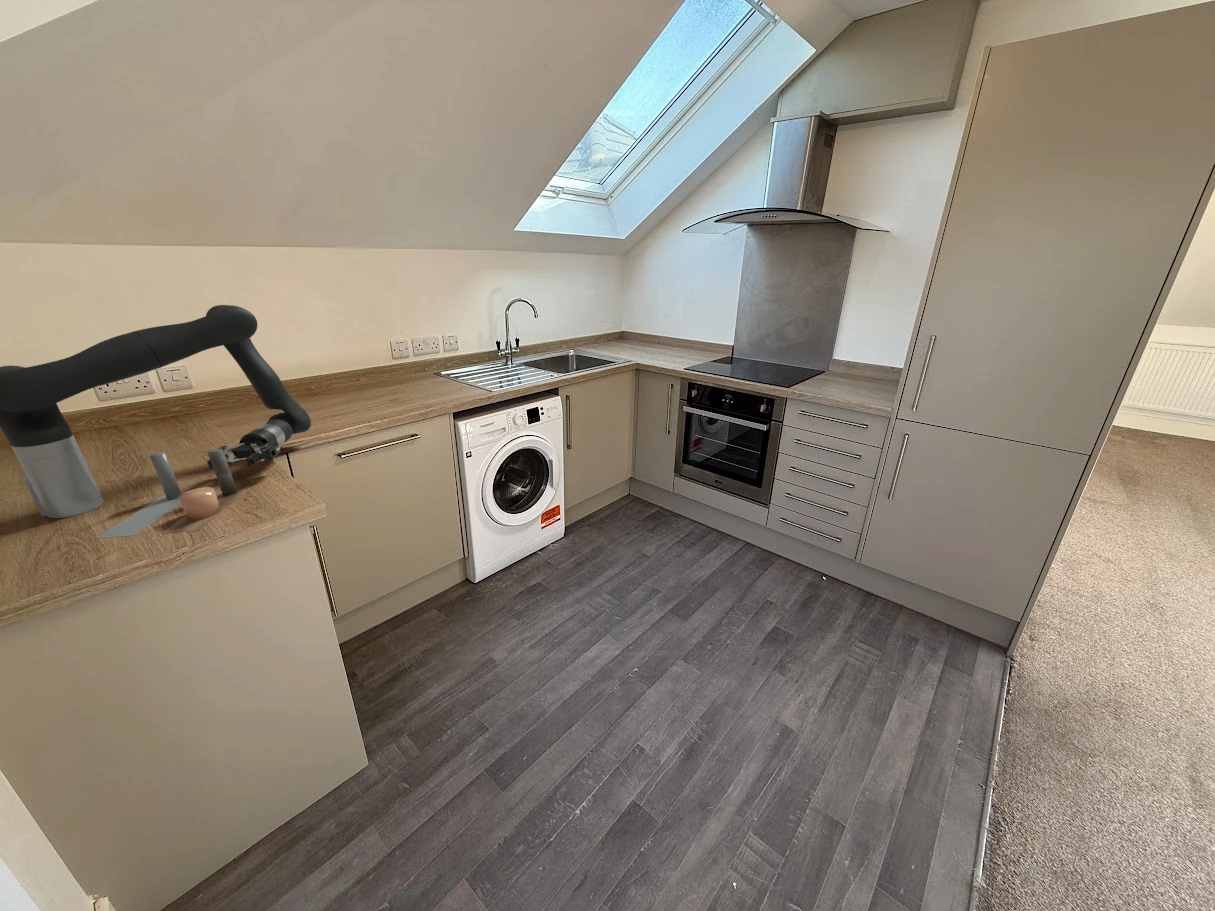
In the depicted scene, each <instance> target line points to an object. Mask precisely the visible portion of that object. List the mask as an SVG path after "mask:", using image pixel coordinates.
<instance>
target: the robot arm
mask: <svg viewBox="0 0 1215 911" xmlns="http://www.w3.org/2000/svg"><path fill="white" fill-rule="evenodd" d="M257 329H258V321H257V318H256V317H255V315H254V314H253V313H252V312H251V311H249V310H248V309H246V308H243V307H240V306H238V305H229V304H218V305H214V306H212V307H210V308H209V309H208V310H207V311H206V314H205V316H203V317H200V318H196V319H193V320H190V321H186V322H182V323H173V324H166V325H159V326H153V327H152V326H151V327H148V328H143V329H138V330H134V331H130V332H127V333H123V334H120V335H116V336H114V337H110V338H107V339H105V340H103V341H100V342H98V343H96V344H94V345H92V346H89V347H88V348H86V349H84V350H82V351H79V352H77V353H75V354H73V355H71V356H68V357H65V358H62V359H61V358H60V359H59V360H58V359H57V360H55V361H50V362H46V363H42V364H36V365H31V366H27V367H26V366H25V367H24V366H21V365H20V366H19V365H2V366H0V429H1V431H2V432H3V435H5V437H6V439H7V440H8V442H9V444H10V446H11V449H12V451H13V452H14V454H15V456H16V458H17V460H18V461H19V463H20V465H21V467H22V469H23V472H24V474H25V475H26V476H25V477H23V479H22V481H23V482H24V484H25V486H26V489H27V490H28V492H29V494H30V496H31V498H32V500H33V501H34V503H35V506H36V508H37V510H38V512H39V513H40V515H41V517H47V518H50V519H61V518H70V517H74V516H79V515H82V514H85V513H88V512H91V511H94V510H95V509H97V508H99V507H100V506H103V504H104V499H103V497H102V495H101V493H100V489H98V488H99V487H98V486H97V483H96V482H95V478H94V477H93V474H92V472H91V470H90V468H89V465H88V464H87V461H86V459H85V457H84V455H83V452H82V451H81V448H80V446H79V444H78V441H77V440H76V438H75V436H74V433H73V431H72V429H71V426H70V425H69V423H68V422H67V420H66V418H65V417H64V415H63V414H62V412H61V409H60V408H59V406H58V403H60V402H62V401H64V400H68V398H71V397H73V396H76V395H79V394H81V393H83V392H85V391H88V390H91V389H94V388H97V387H101V386H104V385H108V384H111V383H116V382H119V381H123V380H126V379H129V378H132V377H137V376H139V375H143V374H145V373H148V372H149V373H150V372H152V371H155V370H157V369H160V368H163V367H166V366H169V365H170V364H175V363H177V362H179V361H181V360H184V359H187V358H190V357H191V356H194V355H196V354H198V353H201V352H204V351H206V350H210V349H214V348H217V347H220V346H223V347H224V348H225V349H226V350H227V351H228V353H229V354H230V356H231V357H232V358H233V359H234V361H235V362H236V363H237V365H238V366H239V368H240V369H241V370H242V372H243V373H244V375H245V376H246V378H247V380H248V381H249V383H250V384H251V386H252V388H253V390H254V391H255V393H256V394H257V397H259V400H261V402H262V404H263V405H264V407H266V409H269V410H279V411H280V410H281V411H283V412H280V413H276V414H274V415H271V416H270V417H269V418H268V420H267V422H266V423H264V424H262V425H261V426H260V425H259V426H257V427H256V428H254V429H253V430H251V431H249V432H248V433H246V434H244V435H243V436H242V437H241V438H240V440H239V443H237V444H236V445H235V446H232V447H228V446H227V445H222V446H220V447H218V448H217V449H223V451H224V454H225V457H226V460H227V463H228V462H229V463H234V462H237V461H241V460H246V463H247V467H253V466H255V465H256V464H258V463H259V462H263V461H265V459H267V461H272V460H274V458H276V457H277V456H278V455H279V454H280V453H281V447H282V445H284V444H285V443H286V442H287V441H289V440H290V438H291V437H292V436H293V435H296V434H301V433H305V432H307V431H309V430H310V428H311V426H312V419H311V417H310V416H309V414H308V412H307V411H306V410H305V409H304V408H303V407H302V406H301V405H300V404H299V403H298V402H297V401H296V400H295V399H294V398H293V397H292V396H291V395H290V394H289V392H288V391H287V389H286V387H285V385H284V384H283V381H282V380H281V378H280V377H279V375H278V374H277V373H276V371H275V370H274V369H273V368H272V367H271V366H270V364H269V363H268V362H267V361H266V359H264V358H263V356H262V355H261V354H260V353H259V351H258V350H257V348H256V346H255V345H254V343H253V341H252V339H251V338H252V337H253V336H254V335H255V334H256V332H257ZM232 454H233V455H232ZM207 455H208V456H209V454H207ZM233 456H234V457H233ZM207 465H208V467H209V468H210V469H213V470H214V468H213V466H212V463H211V460H210V459H209V460H207Z"/></svg>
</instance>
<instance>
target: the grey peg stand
mask: <svg viewBox="0 0 1215 911" xmlns="http://www.w3.org/2000/svg"><path fill="white" fill-rule="evenodd" d="M149 457H150V460H151V463H152V465H153V467H154V470H155V473H156V474H157V475H156V476H157V477H158V480H159V482H160V485H161V487H162V490H163V492H164V494H162V495H161V496H159V497H158V498H156V499H154V500H153V501H152V502H151V501H150V503H148V504H147V505H146V506H144V507H142V508H141V509H139V510H138V511H136V512H134V513H133V514H131V515H129V516H128V517H127V518H125V519H124V520H122V521H120V522H118V523H117V524H116V525H113V527H111V528H109V529H108V530H106V531H104V532H103V533H102V534H100V535H98V536H97V537H95V539H96V540H97V539H108V538H109V539H110V538H120V537H122V538H123V537H134V536H136V535H138V534H139V533H140V532H141V531H143V530H144V529H146V528H147V527H149V526H150V525H151V524H153V523H154V522H156V521H158V520H159V519H161V518H162V517H163V516H165V515H166V514H168V513H169V512H171V511H172V510H174V509H175V508H176V507H178V506H179V505H181V501H180V499H179V496H180V495H181V494H183V493H184V492H182V491H181V488H180V485H179V483H178V481H177V478H176V475H175V473H174V470H173V468H172V465H171V462H170V459H169V457H168V455H167V452H165V451H161V452H160V451H159V452H155V453H152V454H150V455H149Z"/></svg>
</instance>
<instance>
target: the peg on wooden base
mask: <svg viewBox="0 0 1215 911" xmlns="http://www.w3.org/2000/svg"><path fill="white" fill-rule="evenodd" d="M207 453H208V454H209V455H208V454H207V455H208V458H209V460H211V463H212V466H213V468H214V469H213V471H214V474H215V477H216V479H217V483H218V486H219V489H220V490H218V491H217V492H215V493H216V496H217V499H218V502H219V505H220V508H221V511H220V512H219V513H217V514H215V515H213V516H211V517H208V518H204V519H199V520H189V519H187V517H186V514H185V515H184V516H183V517H181V518H180V519H178V520H177V521H176V522H174V523H173V524H172V525H170V526H169V527H167V529H165V530H164V531H162V532H161V534H171V533H173V534H175V533H185V532H198V531H201V530H202V529H203V528H204V527H205V526H206V525H208V524H209V523H210V522H211V521H213V520H214V519H215V518H216V517H218V516H219V515H220V514H221V513H222V512H224V511H225V510H226V509H227V508H229V507H230V506H231V505H232V504H234V503H235V502H236V501H237V500H238V499H239V498H241V497H242V496H244V494H246V493H247V492H248V491H250V488H241V489H237V488H236V484H235V480H234V478H233V476H232V473H231V469H230V466H229V464H228V462H227V460H226V458H227V457H225V454H224V451H223V449H218V448H215V449H211V450H209V451H208V452H207Z"/></svg>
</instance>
